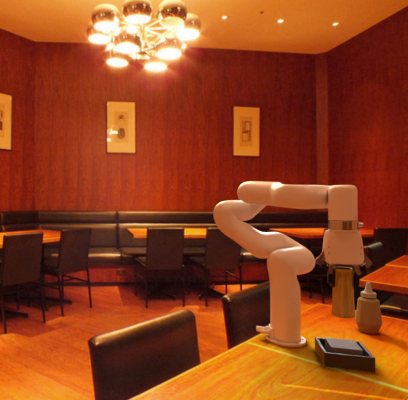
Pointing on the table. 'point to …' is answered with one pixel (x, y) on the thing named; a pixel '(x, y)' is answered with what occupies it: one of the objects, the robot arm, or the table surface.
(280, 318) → the robot arm
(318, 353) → the crate
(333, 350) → the block
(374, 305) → the squeeze bottle
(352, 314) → the vase
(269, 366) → the table surface
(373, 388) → the table surface
